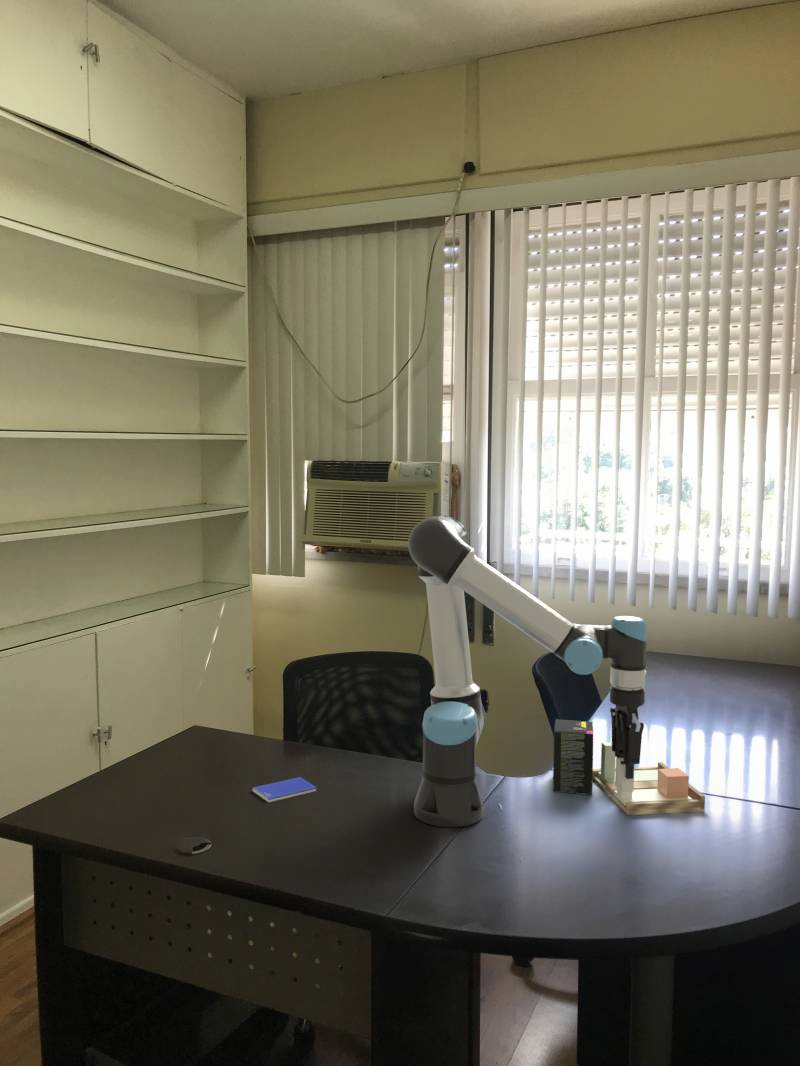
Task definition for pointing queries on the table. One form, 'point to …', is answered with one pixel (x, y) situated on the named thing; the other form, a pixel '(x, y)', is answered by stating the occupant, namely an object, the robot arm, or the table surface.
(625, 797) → the strip cream
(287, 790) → the hard drive
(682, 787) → the cube
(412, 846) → the table surface
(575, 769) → the tampon box
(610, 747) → the pale green l-shaped bracket
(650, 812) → the lane board
